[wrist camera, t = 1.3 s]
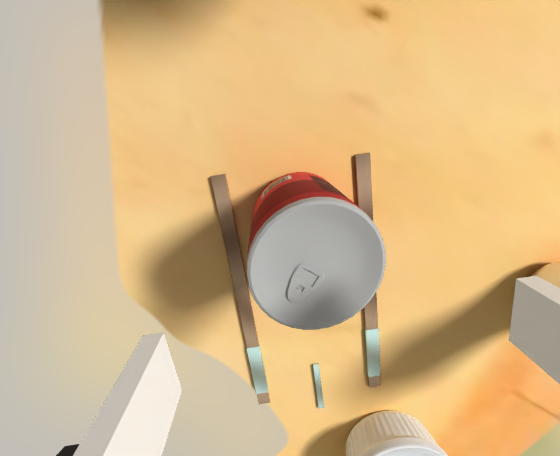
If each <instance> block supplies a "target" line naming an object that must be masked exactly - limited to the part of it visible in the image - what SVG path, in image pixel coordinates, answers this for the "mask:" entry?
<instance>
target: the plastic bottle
mask: <svg viewBox="0 0 560 456" xmlns="http://www.w3.org/2000/svg"><path fill="white" fill-rule="evenodd" d="M532 276H538V277H540V278H542V279H544V280H546V281H548V282H549V283H551V284H553V285H555V286H557V287H559V288H560V262H555V263H550V264H547V265H545V266H543V267H541V268H540V269H538V270H537V271H536V272H535V273H534V274H533V275H532Z"/></svg>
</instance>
